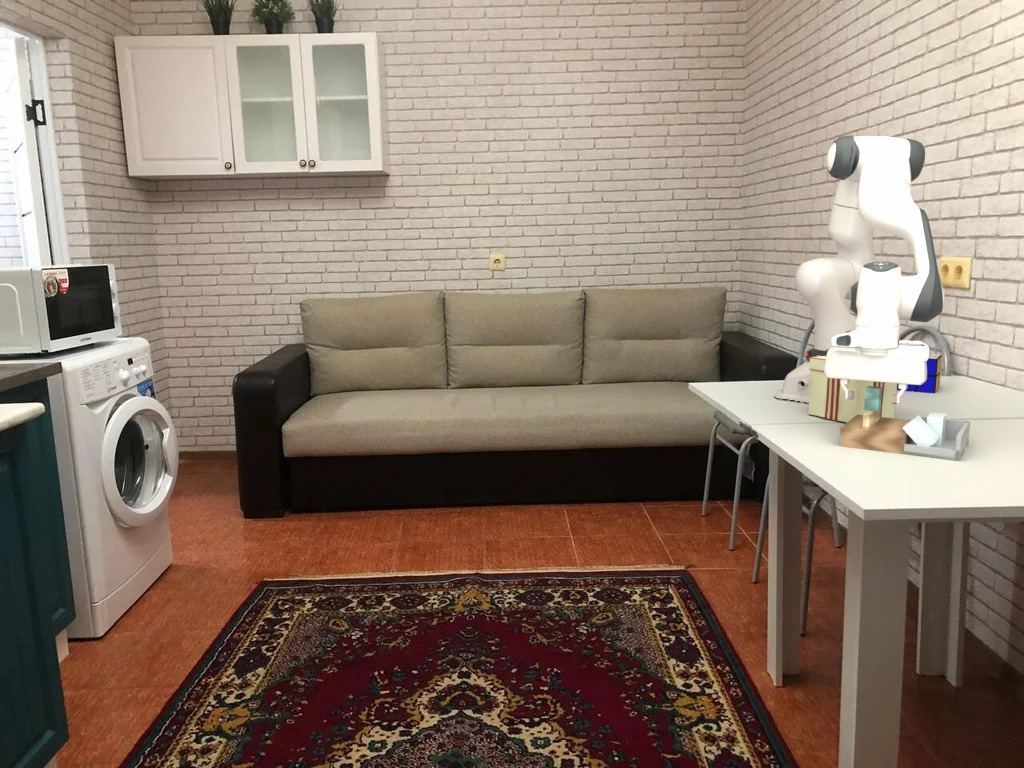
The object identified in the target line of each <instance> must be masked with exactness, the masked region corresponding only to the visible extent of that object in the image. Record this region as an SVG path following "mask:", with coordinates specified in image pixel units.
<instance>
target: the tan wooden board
mask: <svg viewBox="0 0 1024 768" xmlns="http://www.w3.org/2000/svg"><path fill="white" fill-rule="evenodd" d="M911 420H912V419H904V418H903V419H902V418H885V417H880V419H879V420H878V421H877V422H876V423H875V424H874V425H873V426H871V427H870V428H869V429H862V427H863V415H856V416H855V417H854V418H852V419H851V420H850V421H849V422H847V423H845V424H844V425H842V426H840V438H839V440H840V441H839V446H840V447H845V448H846V447H847V448H855V449H862V450H863V449H864V450H870V451H879V452H886V453H892V454H893V453H894V454H903V455H905V454H904V444H910V443H911V442H912V438H911V437H910V436H909V435H908V434H907V433H906V432H905V431H904V429H903V427H904V426H905V424H906V423H908V422H909V421H911Z"/></svg>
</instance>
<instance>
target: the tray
mask: <svg viewBox="0 0 1024 768" xmlns="http://www.w3.org/2000/svg"><path fill="white" fill-rule="evenodd" d="M920 417H921V418H922V419H923V420H924V421H925V423H926V424H927V416H920ZM970 424H971V421H966V420H958V419H948V418H947V419H946V432H945V441H944V443H943V444H942V445H941V446H936V445H931V446H930V447H929V446H921V445H917V444H916V443H915V442H914V441H913V440H912V442H911V443H910V444H904V454H903V455H911V456H916V457H917V456H918V457H924V458H925V457H927V458H932V459H933V458H934V459H940V460H949V461H960V460H961V458H962V457H963V454H964V453H965V451H966V449H967V447H968V445H969V436H970V428H971V427H970Z"/></svg>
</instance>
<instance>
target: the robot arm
mask: <svg viewBox="0 0 1024 768" xmlns="http://www.w3.org/2000/svg"><path fill="white" fill-rule="evenodd" d="M925 162H926V149H925V146H924V144H923V143H922V142H921V141H918V140H916V139H912V138H905V139H904V138H901V137H900V138H899V137H895V136H894V137H893V136H887V135H879V136H877V135H876V136H875V135H863V136H853V135H851V134H850V135H843V136H839V137H838V138H836V139H835V140H834V141H833V142H832V144H831V146H830V148H829V149H828V152H827V156H826V167H827V169H826V170H827V173H829V175H830V177H831V178H834V179H836V180H838V181H839V182H838V184H837V188H836V191H835V195H834V199H833V204H832V206H831V212H830V216H829V221H828V226H827V233H828V235H829V237H830V238H831V240H832V241H834V242H835V243H836V245H837V255H836V257H818V258H814V259H811V260H807V261H804V262H802V263H801V264H800V265H799V266H798V267H797V270H795V275H794V285H795V288H796V291H797V292H798V294H799V295H800V296H802V297H803V298H804V299H805V300H806V302H807V304H808V306H809V307H810V310H811V312H812V317H813V323H814V337H813V338H814V340H813V341H814V342H813V345H814V346H812V347H811V348H809V349H807V350H806V352H805V355H804V356H805V358H806V359H805V360H806V361H805V362H803V363H801V364H800V365H799V366H797V367H795V368H794V369H793V370H791V371H790V372H788V373H787V375H786V376H785V378H784V382H783V386H782V388H781V389H779V390H778V389H777V391H775V392H774V395H773V397H774V396H775V397H778V398H784V399H789V400H788V401H790V400H795V401H794V402H797V401H800V402H799V403H804V402H806V403H805V404H809V395H810V377H811V370H810V369H809V365H810V358H811V357H819V356H826V360H825V366H824V374H825V375H826V377H827V378H835V379H841V386H842V387H843V389H844V391H845V399H847V400H853V399H854V391H850V389H849V387H848V385H847V384H848V383H849V381H850V380H861V381H873V382H886V383H899V389H901V388H902V389H901V390H899V392H898V393H897V394H896V395H893V396H892V404H896V405H900V404H901V403H902V402H901V401H902V395H903V394H904V393H905V392H906V391H905V390H906V389H907V387H908V384H911V385H921V384H923V383H924V382H925V381H926V380H927V363H926V361H927V360H928V359H929V357H930V354H931V349H930V346H929V344H927V343H925V342H923V341H922V340H910V339H900V334H901V333H900V331H901V321H910V322H919V323H928V322H930V321H932V320H934V319H935V318H936V317H938V316H940V314H942V312H943V309H944V306H945V300H946V299H945V298H946V296H945V290H944V287H943V284H942V282H941V276H940V273H939V268H938V263H937V257H936V249H935V245H934V239H933V234H932V229H931V225H930V219H929V218H928V214H927V212H926V211H925V209H923V208H920V207H918V205H917V204H916V203H915V201H914V199H913V195H912V182H914V181H915V180H916V179H918V178H919V176H920V175H921V173H922V171H923V168H924V166H925ZM875 229H876V230H878V231H880V232H884V233H887V234H891V235H894V236H897V237H899V238H901V239H903V240H904V241H906V242H908V244H910V245H911V248H912V252H913V259H914V265H915V270H916V274H915V275H909V276H902V271H901V266H900V265H899V264H897V263H895V262H890V261H878V259H877V257H876V254H875V251H874V243H873V238H874V232H875ZM847 298H848V299H849V298H850V306H849V310H850V311H851V312H853V314H855V315H853V314H851V313H850V311H849V310H848V306H847V303H846V299H847ZM829 348H830V349H829ZM826 349H829V350H828V352H827V351H826ZM775 397H774V398H775Z"/></svg>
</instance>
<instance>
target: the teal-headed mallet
mask: <svg viewBox="0 0 1024 768" xmlns="http://www.w3.org/2000/svg"><path fill="white" fill-rule="evenodd" d="M881 396H882V387H875V386H867V387H866V388H865V403H864V411H867V412H866V413H865V414H864V415H863V427H862V429H869V428H870V427H871V426H873V425H874V424H875V423H876V422H877V421H878V420H879V419H880V413H881Z"/></svg>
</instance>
